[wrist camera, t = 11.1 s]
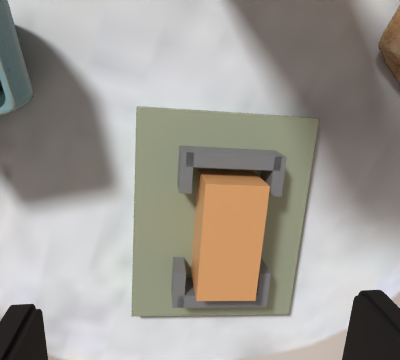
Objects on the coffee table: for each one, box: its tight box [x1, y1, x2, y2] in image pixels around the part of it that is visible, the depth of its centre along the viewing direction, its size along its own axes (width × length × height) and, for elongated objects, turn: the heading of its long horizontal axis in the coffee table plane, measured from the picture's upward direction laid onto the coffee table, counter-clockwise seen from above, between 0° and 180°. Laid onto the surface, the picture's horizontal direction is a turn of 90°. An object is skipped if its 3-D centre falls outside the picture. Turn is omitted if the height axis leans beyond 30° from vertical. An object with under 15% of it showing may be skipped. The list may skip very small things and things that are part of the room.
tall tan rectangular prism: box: [191, 169, 270, 301], centre depth 30 cm, size 10×5×5 cm, turn 176°
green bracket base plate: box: [132, 106, 319, 316], centre depth 32 cm, size 20×16×4 cm
